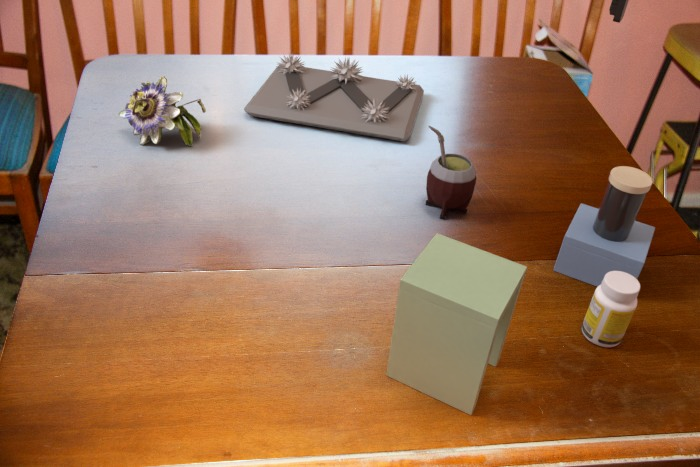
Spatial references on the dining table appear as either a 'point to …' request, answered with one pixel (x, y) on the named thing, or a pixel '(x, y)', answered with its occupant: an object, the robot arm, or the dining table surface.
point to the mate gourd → (450, 181)
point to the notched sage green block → (452, 320)
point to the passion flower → (159, 113)
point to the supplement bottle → (611, 309)
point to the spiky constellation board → (338, 100)
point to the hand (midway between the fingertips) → (659, 30)
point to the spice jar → (621, 203)
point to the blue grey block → (600, 250)
